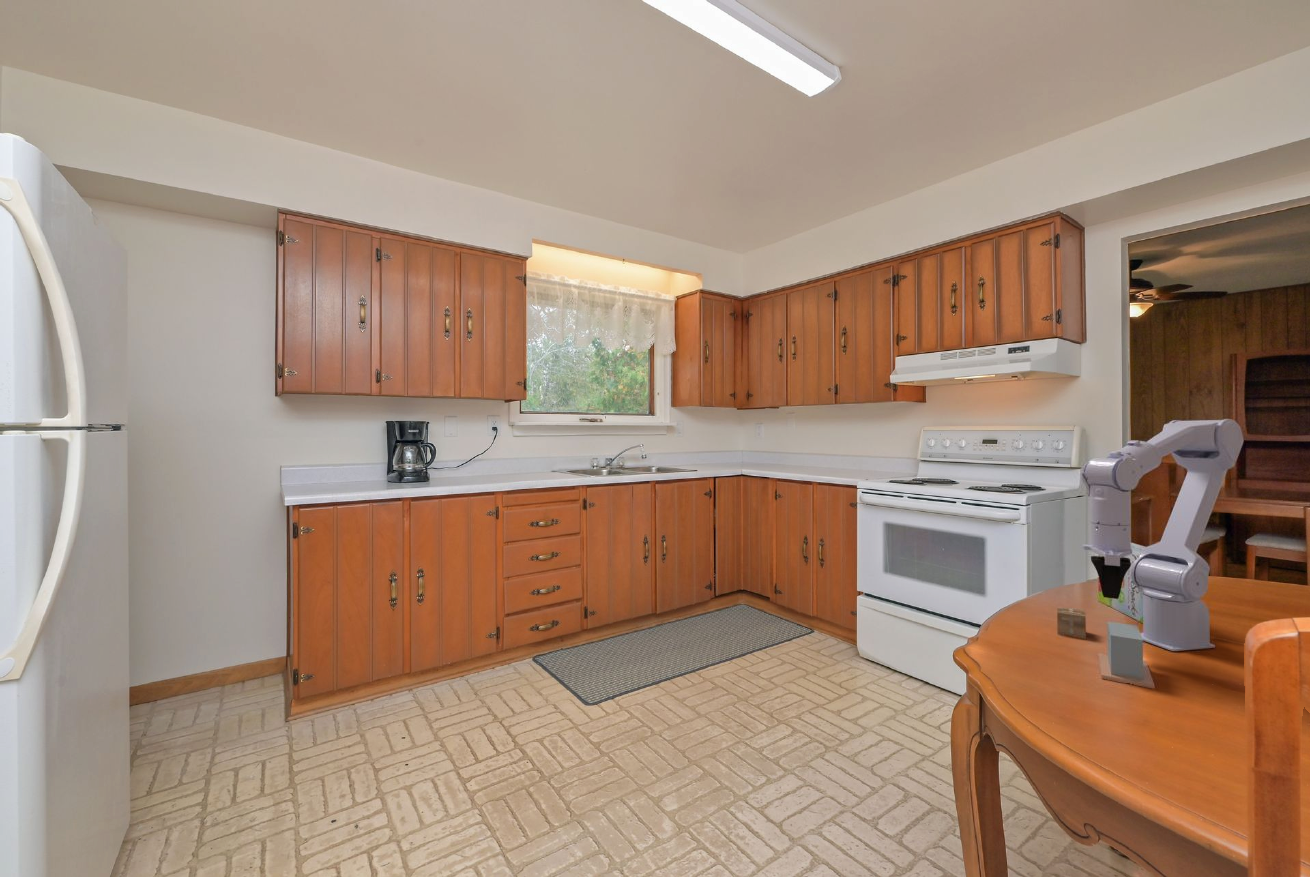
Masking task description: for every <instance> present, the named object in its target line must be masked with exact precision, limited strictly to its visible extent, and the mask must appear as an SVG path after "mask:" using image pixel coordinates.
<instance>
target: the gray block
mask: <svg viewBox="0 0 1310 877" xmlns="http://www.w3.org/2000/svg"><path fill="white" fill-rule="evenodd" d="M1106 625H1107V655H1108V662H1109V666H1110V671H1111V674H1112V675H1117V676H1122V677H1128V678H1133V679H1138V680H1143V661H1144V641H1143V639H1142V637H1141V634H1140V633H1141V631H1140V629H1139V626H1138V625H1135V624H1128V623H1122V622H1113V621H1109V620H1108V621H1107V624H1106Z"/></svg>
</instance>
